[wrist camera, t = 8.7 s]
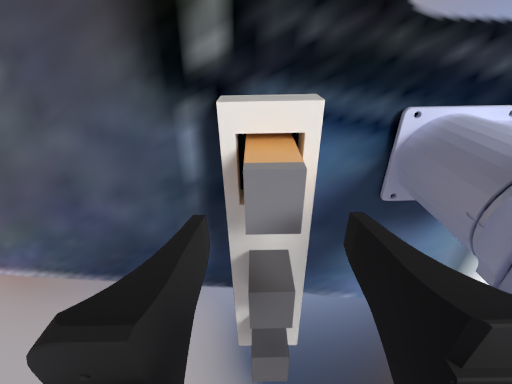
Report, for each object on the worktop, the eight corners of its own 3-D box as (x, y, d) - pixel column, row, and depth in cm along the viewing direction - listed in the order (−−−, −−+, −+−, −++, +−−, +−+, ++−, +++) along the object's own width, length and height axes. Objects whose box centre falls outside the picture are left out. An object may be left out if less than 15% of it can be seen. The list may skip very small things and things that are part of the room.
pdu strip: (316, 93, 18) (347, 116, 12) (294, 324, 32) (303, 389, 26) (220, 95, 18) (204, 119, 12) (239, 325, 32) (236, 390, 26)
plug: (290, 132, 20) (307, 169, 14) (287, 182, 22) (300, 234, 16) (246, 132, 20) (242, 170, 14) (248, 183, 22) (245, 234, 16)
